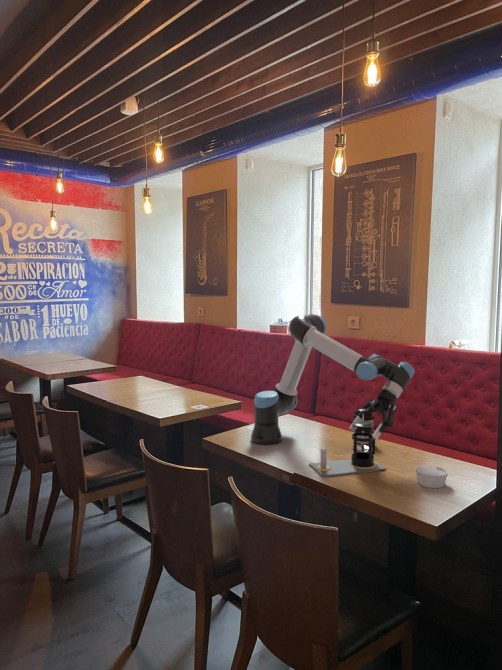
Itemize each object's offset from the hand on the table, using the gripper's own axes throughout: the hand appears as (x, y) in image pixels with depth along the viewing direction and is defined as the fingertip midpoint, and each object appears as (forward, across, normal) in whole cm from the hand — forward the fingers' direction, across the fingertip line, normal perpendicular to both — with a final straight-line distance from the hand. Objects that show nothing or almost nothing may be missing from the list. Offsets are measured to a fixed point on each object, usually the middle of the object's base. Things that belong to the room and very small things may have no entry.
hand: (362, 434), depth 203 cm
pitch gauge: (+14, +2, -5) cm, 15 cm away
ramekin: (+3, -27, -17) cm, 32 cm away
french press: (+8, 0, -10) cm, 13 cm away
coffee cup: (-7, +24, -26) cm, 36 cm away
